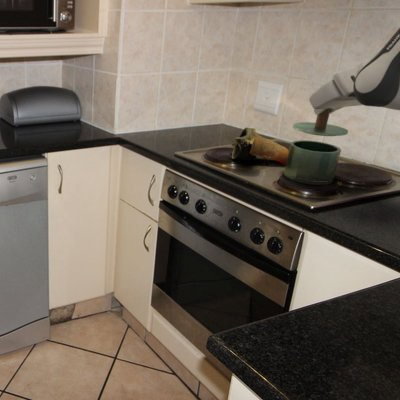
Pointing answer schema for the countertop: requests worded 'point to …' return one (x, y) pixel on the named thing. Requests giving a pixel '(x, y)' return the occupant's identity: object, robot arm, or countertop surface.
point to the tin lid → (321, 126)
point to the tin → (312, 162)
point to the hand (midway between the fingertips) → (321, 112)
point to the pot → (257, 147)
